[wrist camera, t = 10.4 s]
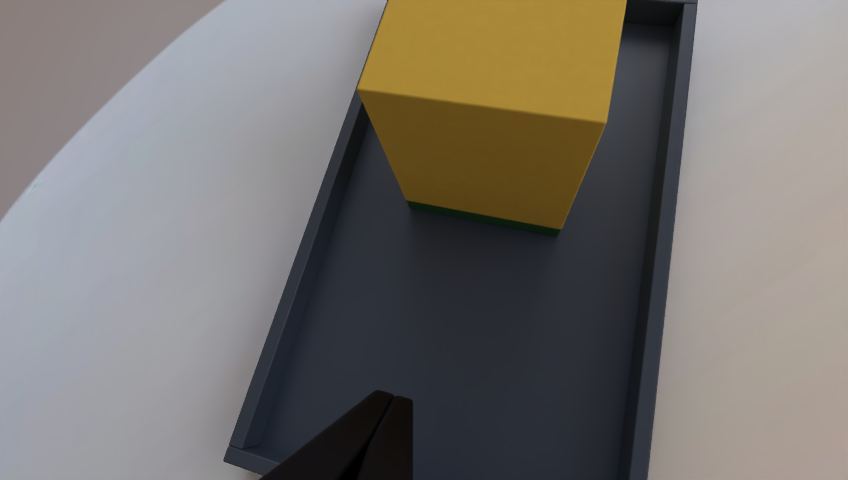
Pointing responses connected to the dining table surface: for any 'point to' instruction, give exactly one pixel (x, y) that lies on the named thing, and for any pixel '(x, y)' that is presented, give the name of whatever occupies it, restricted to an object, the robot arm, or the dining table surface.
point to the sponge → (493, 103)
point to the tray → (490, 300)
